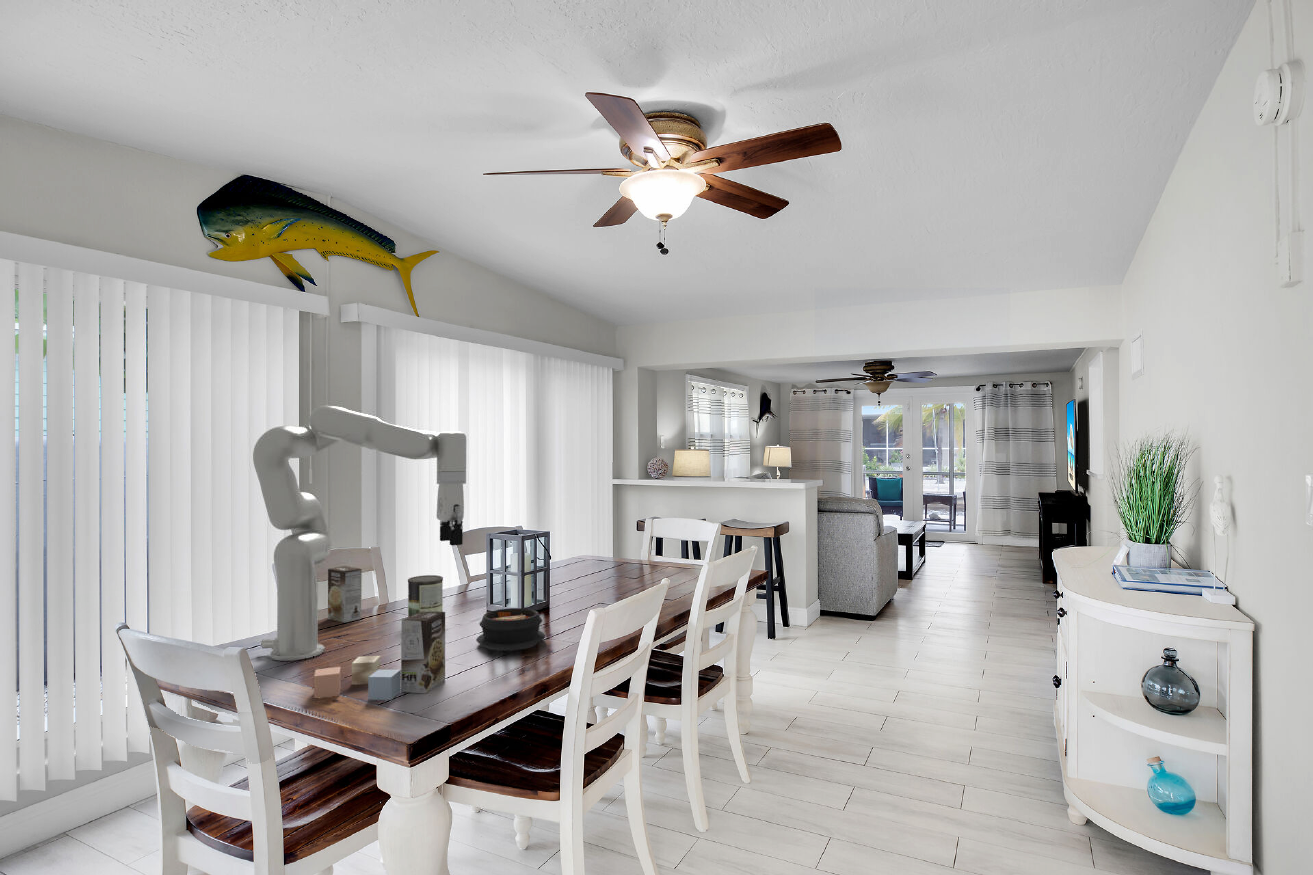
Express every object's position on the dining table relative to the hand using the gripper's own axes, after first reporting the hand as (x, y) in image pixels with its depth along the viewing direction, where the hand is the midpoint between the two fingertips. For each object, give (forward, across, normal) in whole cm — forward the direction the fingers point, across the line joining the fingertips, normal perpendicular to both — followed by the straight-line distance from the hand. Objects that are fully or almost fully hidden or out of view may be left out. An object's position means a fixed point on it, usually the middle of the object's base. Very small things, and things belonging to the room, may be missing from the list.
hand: (450, 542), depth 186 cm
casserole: (+29, +1, +16) cm, 33 cm away
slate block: (+29, +25, -21) cm, 44 cm away
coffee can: (+29, -34, +2) cm, 45 cm away
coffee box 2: (+29, +24, -12) cm, 39 cm away
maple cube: (+29, +12, -23) cm, 39 cm away
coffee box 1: (+30, -54, -19) cm, 65 cm away
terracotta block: (+29, +17, -31) cm, 46 cm away
